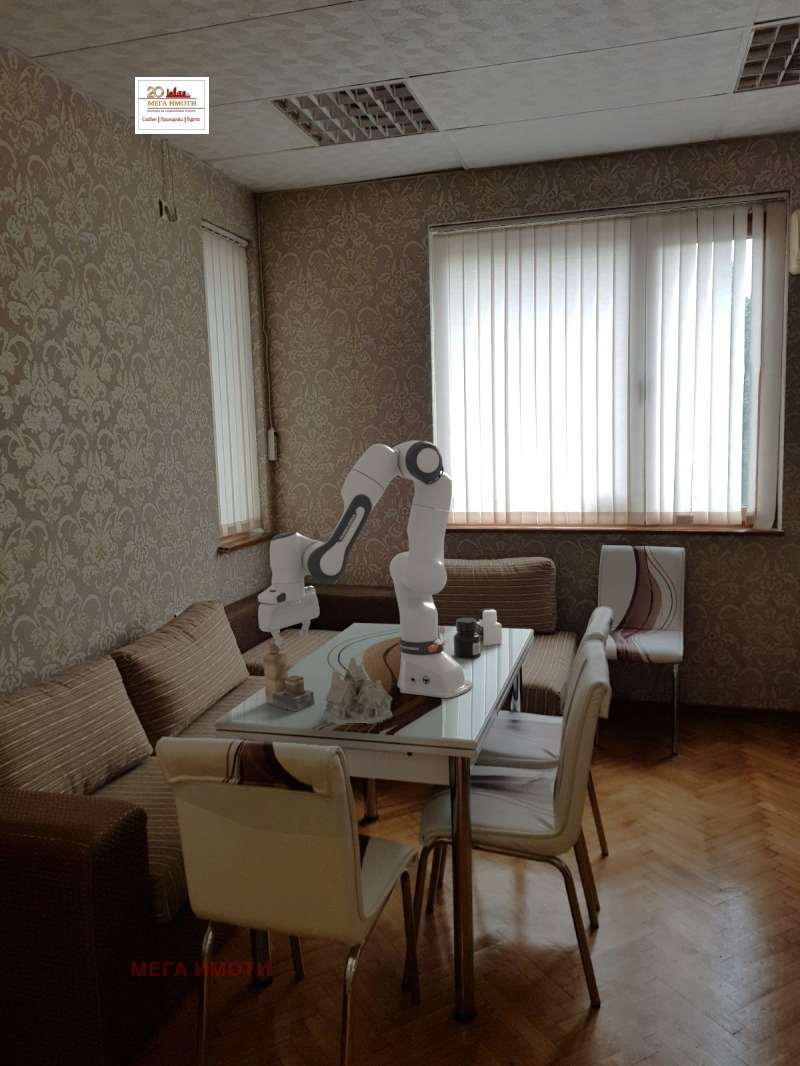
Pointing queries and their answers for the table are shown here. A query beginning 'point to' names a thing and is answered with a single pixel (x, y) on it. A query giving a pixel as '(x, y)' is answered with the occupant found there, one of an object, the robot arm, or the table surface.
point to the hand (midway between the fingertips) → (291, 640)
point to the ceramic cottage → (356, 698)
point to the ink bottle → (466, 639)
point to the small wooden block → (294, 686)
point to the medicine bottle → (489, 627)
